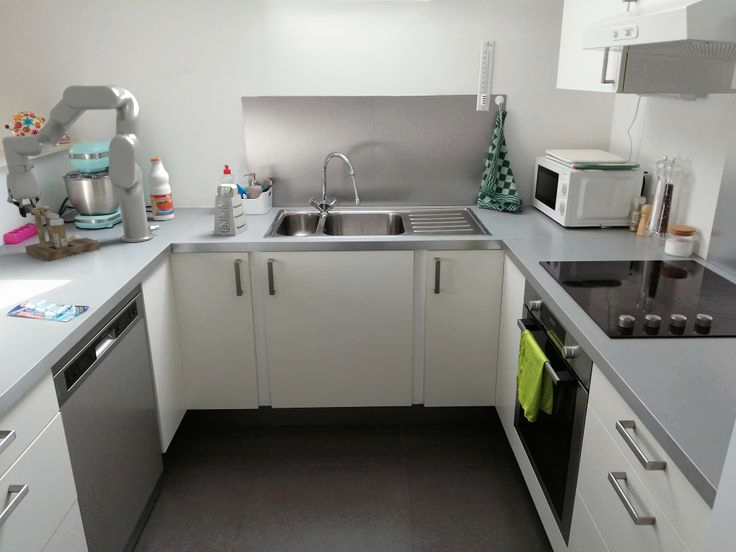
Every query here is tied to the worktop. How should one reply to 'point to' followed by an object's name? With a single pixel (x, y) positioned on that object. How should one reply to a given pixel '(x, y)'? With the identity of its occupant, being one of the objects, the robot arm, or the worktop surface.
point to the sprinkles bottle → (59, 233)
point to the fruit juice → (160, 191)
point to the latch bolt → (41, 212)
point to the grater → (229, 212)
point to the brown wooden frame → (48, 249)
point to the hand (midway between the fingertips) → (29, 215)
